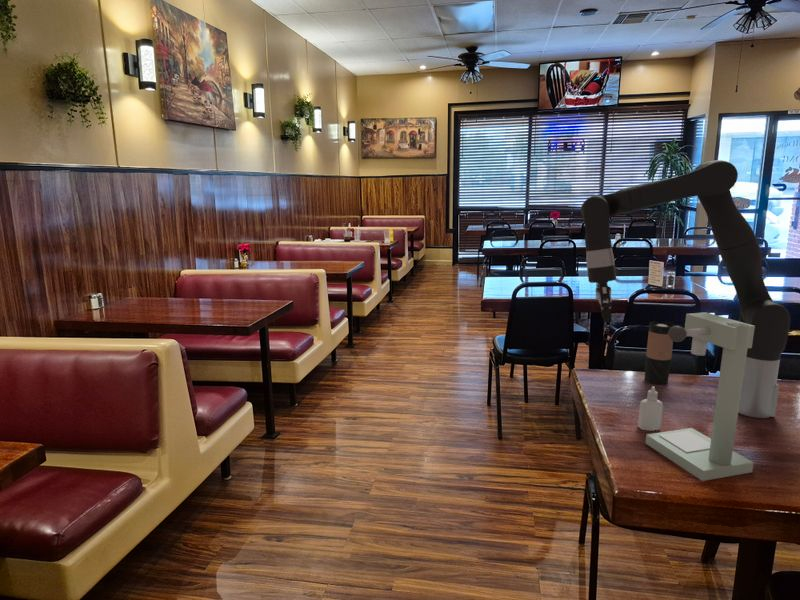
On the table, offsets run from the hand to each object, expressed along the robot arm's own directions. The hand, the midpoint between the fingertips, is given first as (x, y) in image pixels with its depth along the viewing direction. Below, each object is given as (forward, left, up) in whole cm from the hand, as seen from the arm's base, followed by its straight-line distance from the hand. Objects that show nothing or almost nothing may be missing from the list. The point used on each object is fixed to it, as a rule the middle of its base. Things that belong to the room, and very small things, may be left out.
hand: (606, 320), depth 149 cm
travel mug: (-23, -24, -27) cm, 43 cm away
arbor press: (-14, +30, -27) cm, 43 cm away
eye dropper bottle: (-10, +14, -27) cm, 32 cm away
